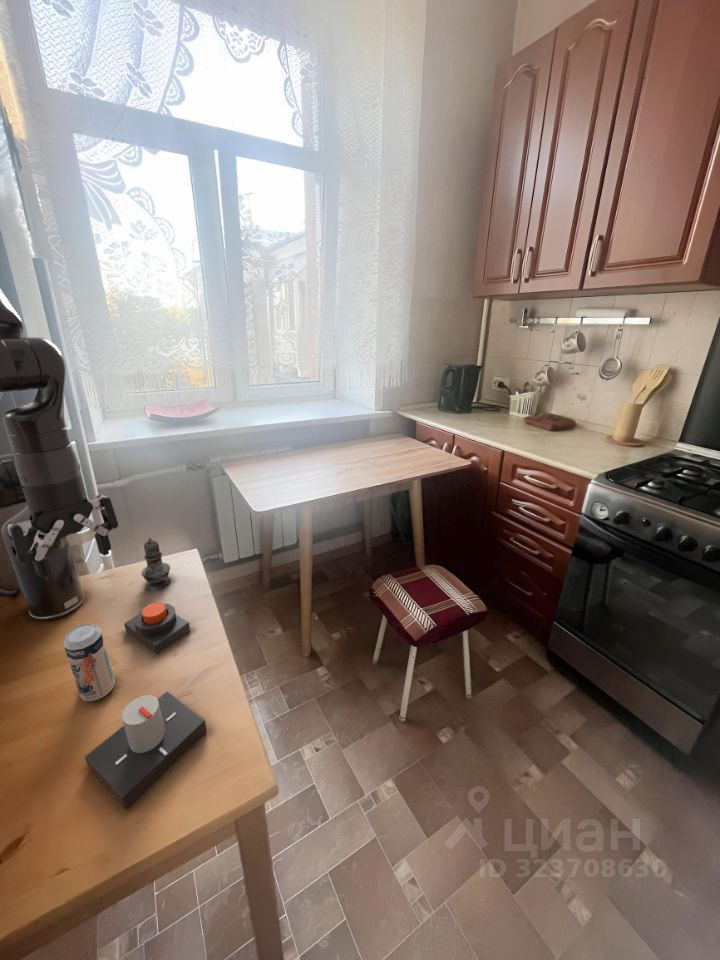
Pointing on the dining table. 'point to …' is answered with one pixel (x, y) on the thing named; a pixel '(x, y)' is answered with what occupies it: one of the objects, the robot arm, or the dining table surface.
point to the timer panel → (145, 753)
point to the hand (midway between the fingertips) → (77, 564)
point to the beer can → (89, 662)
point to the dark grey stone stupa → (155, 567)
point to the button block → (158, 630)
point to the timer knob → (143, 723)
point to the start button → (154, 613)
